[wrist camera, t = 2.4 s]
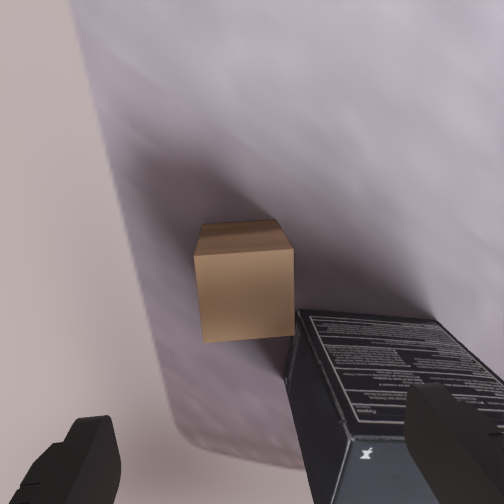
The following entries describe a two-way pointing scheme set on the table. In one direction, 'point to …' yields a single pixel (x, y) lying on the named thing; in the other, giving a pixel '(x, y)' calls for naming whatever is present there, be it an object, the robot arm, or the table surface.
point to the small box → (373, 400)
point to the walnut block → (245, 281)
